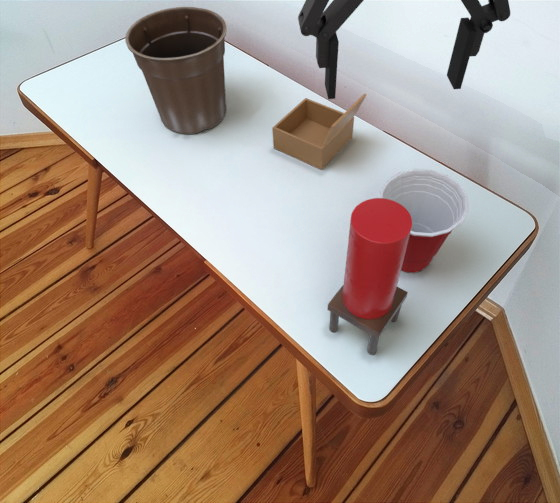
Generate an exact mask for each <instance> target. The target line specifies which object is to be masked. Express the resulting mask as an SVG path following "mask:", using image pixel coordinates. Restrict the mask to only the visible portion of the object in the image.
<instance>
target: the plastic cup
mask: <svg viewBox="0 0 560 503" xmlns="http://www.w3.org/2000/svg"><path fill="white" fill-rule="evenodd" d="M379 198H384V199H389V200H393V201H395V202H397V203H399V204H401V205H402V206H403V207H405V208H406V209H407V210H408V212H409V213H410V215H411V218H412V228H411V232H410V236H409V240H408V244H407V248H406V252H405V256H404V260H403V264H402V268H401V272H404V273H412V274H414V273H419V272H422V271H423V270H424V269H426V268H427V267H428V266H429V265H430V263H431V262H432V260H433V259H434V257H435V256H436V255H437V254H438V252H439V250H440V249H441V248H442V246H443V244H444V243H445V241H446V239H447V238H448V236H449V235H450V234H451V233H452V232H453V230H455V229H456V228H458V227H459V226H461V224H462V223H463V221H464V219H465V217H467V214H468V212H469V197H468V195H467V193H466V192H465V190H464V188H463V187H462V184H460V183H459V182H457V181H456V180H455V179H453V178H452V177H451V176H449V175H448V174H445V173H442V172H439V171H436V170H433V169H427V168H426V169H424V168H413V169H408V170H405V171H401V172H398V173H396V174H395V175H393V176H391V177H390V178H389V179H387V180H386V181H385V182H384V185H383V186H382V187H381V189H380V191H379Z"/></svg>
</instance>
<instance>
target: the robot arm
mask: <svg viewBox="0 0 560 503" xmlns="http://www.w3.org/2000/svg"><path fill="white" fill-rule="evenodd" d="M329 1H330V0H305V1H304V3H303V6H302V7H301V10H300V12H299V14H298V16H297V22H298V25H299V30H300V34H301V35H302V36H304V37H310V36H311V37H315V38H316V39H315V58H316V63H317V67H318V68H319V69H324V88H325V91H326V96H327V99H328V100H335V99H336V92H337V75H338V74H337V73H338V59H339V44H340V43H339V42H340V41H339V38H338V35H337V32H338V30H340V28H341V27H342V26H343V25H344V23H345V22H346V21H347V20H348V19H349V18H350V17H351V15H353V13H354V12H355V11H356V10H357V9H358V8H359V6H360V5H361V4H363V2H364V1H365V0H332V1H331V2H330V3H329ZM460 1H461V3H462V4H463V6H464V8H465V9H466V11H467V13H468V14H469V16H470V17H461V18H460V20H459V25H458V28H457V32H456V35H455V40H454V43H453V44H454V45H453V48H452V53H451V57H450V60H449V64H448V69H447V72H446V77H447V79H448V81H449V83H450V86H451V87H452V89H453V90H461V89H462V85H463V82H464V78H465V75H466V72H467V68H468V64H469V60H470V57H476V56H477V55H478V53H480V49H481V46H482V42H483V40H484V36H485V34H488V33H489V32H490V31H491V30H492V29H493V26H494V25H493V24H494V22H497V21H499V22H505V21H507V20H508V19H509V18H510V16H511V8H510V7H511V6H510V2H509V0H487V1H488V3H487V4H484V5H482V4H481V2H480V0H460ZM328 4H329V5H328ZM327 5H328V6H327Z"/></svg>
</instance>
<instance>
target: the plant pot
mask: <svg viewBox="0 0 560 503" xmlns="http://www.w3.org/2000/svg"><path fill="white" fill-rule="evenodd" d="M227 29H228V27H227V24H226V20H225V19H224V18H223V16H221V15H220V14H218V13H217V12H215V11H213V10H210V9H207V8H203V7H197V6H196V7H195V6H177V7H169V8H165V9H160V10H157V11H154V12H151V13H148V14H147V15H145V16H142V17H141V18H138V20H136V21H134V23H132V25H130V27H129V28H128V29H127V31H126V33H125V38H124V41H125V46H126V47H127V49H128V50H129V51H130V53H132V55H133V58H134V60H135V62H136V64H137V67H138V69H139V70H140V71H141V72H142V75H143V77H144V79H145V82H146V85H147V87H148V90H149V92H150V94H151V95H150V96H151V97H152V100H153V103H154V105H155V107H156V110H157V113H158V116H159V118H160V120H161V122H162V124H163V125H164V127H165V128H166V129H168V130H170V131H172V132H174V133H178V134H184V135H185V134H186V135H192V134H193V135H194V134H199V133H202V131H204V130H207V129H208V130H211V129H213V128H215V127H216V126H217V125H219V124H220V123H221V122H222V121H223V119H224V118H225V117H226V114H227V97H226V81H225V80H226V76H225V59H224V58H225V57H224V56H225V53H226V41H225V37H226V35H227V31H228V30H227Z"/></svg>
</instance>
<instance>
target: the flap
mask: <svg viewBox="0 0 560 503" xmlns="http://www.w3.org/2000/svg"><path fill="white" fill-rule="evenodd" d="M366 97H367V93H365V92H364V93H363V94H362V95H361V96H360V97H359V98H358V99H357V100H356V101H355V102H354V103H353V104H352V105H351V106H350V107H349V108H348V109H347V110H346V111H345V112H343V113H344V114H343V115H342V116H341V117H340V118H339V119H338V120H337V121H336V122H335V123H334V124H333V125H332V126H331V128H330V130H329V132H328V134H327V136H326V138H325V140H324V142H323V144H322V146H325V145H326V144H327V143H328V142H329V141H330V140H331V139H332V138H333V137H334V136H335V135H336V134H337V133H338V132H339V131H340V130H341V129H342V128H343V127H344V126H345V125H346V124H347V123H348V122H349V121H350V120H351V119H352V118H353V117H354V118H355V116H356V114H357V113H358V111H359V109H360V108H361V106H362V104H363V102H364V101H365V99H366Z"/></svg>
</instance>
